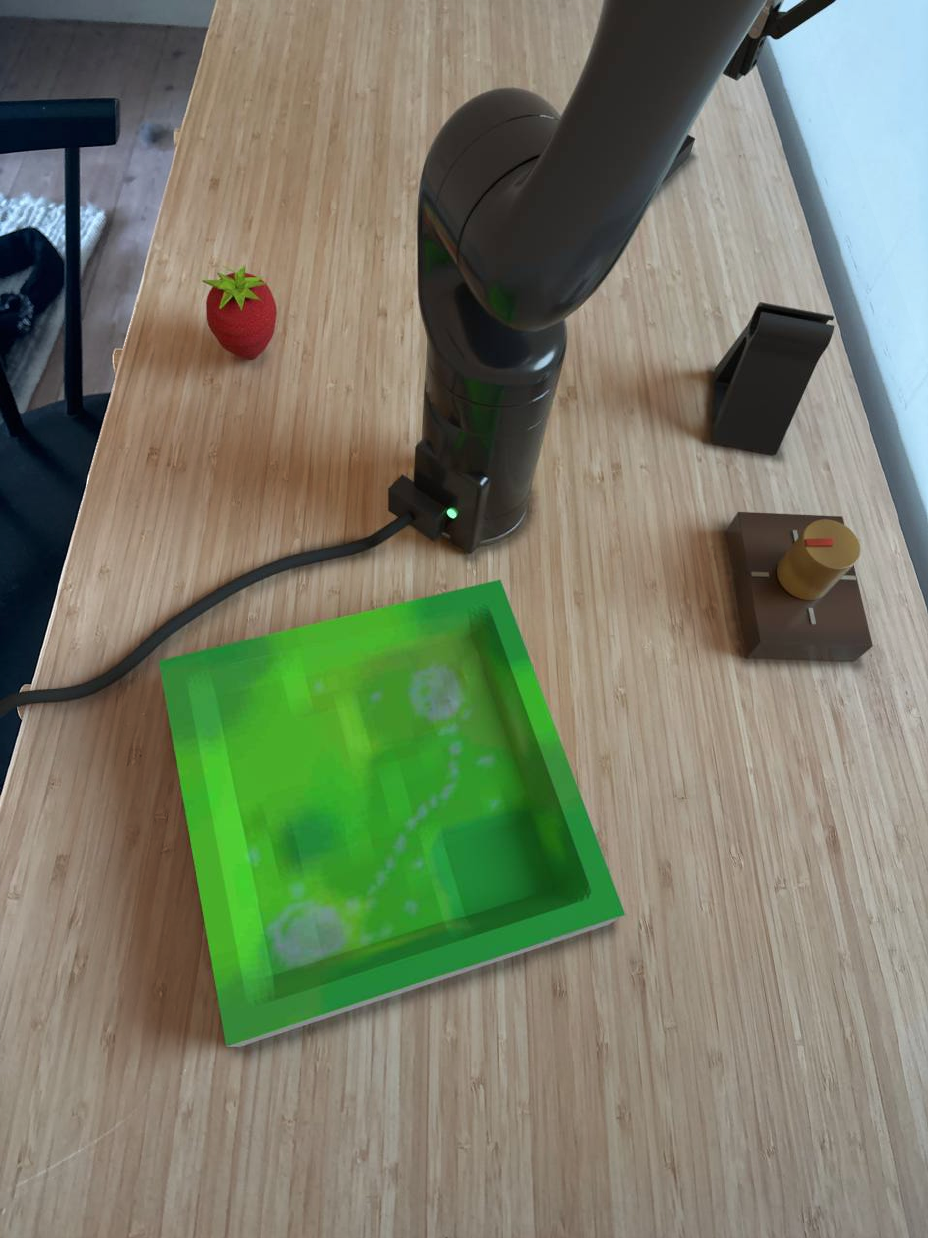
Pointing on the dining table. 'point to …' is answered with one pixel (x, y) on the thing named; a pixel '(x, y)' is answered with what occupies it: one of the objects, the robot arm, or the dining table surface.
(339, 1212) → the dining table surface
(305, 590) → the dining table surface
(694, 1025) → the dining table surface
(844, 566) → the lock knob
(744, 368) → the phone stand
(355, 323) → the dining table surface
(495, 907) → the tray
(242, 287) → the strawberry
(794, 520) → the lock plate
